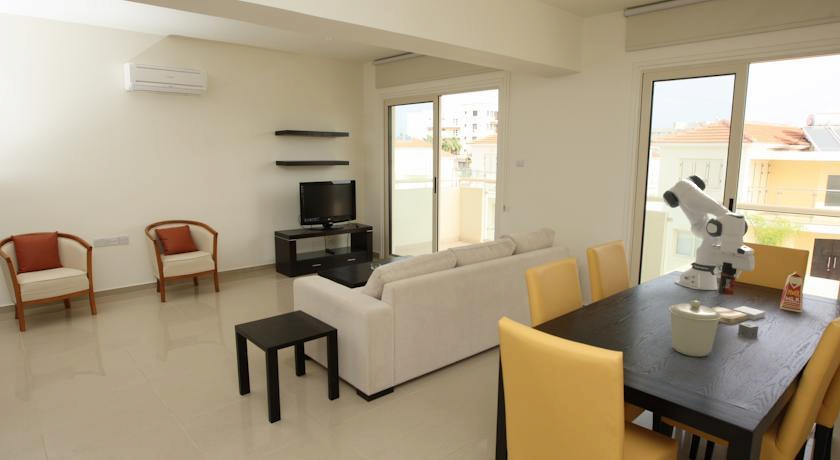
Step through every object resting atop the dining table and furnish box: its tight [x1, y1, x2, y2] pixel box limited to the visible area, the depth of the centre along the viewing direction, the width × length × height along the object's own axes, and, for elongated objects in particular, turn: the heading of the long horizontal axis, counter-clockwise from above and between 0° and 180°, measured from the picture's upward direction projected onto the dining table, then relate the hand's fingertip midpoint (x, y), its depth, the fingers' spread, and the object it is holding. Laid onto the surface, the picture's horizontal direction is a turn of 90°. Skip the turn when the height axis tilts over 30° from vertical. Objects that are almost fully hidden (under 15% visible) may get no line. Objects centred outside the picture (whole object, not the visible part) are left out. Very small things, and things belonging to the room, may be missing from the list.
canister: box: [668, 299, 721, 358], centre depth 196 cm, size 18×18×21 cm
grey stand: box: [732, 305, 766, 321], centre depth 243 cm, size 10×10×2 cm
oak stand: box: [710, 305, 748, 325], centre depth 239 cm, size 14×14×3 cm
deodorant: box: [718, 262, 738, 296], centre depth 236 cm, size 6×6×15 cm
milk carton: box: [779, 270, 804, 313], centre depth 253 cm, size 9×9×20 cm
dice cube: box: [737, 322, 759, 339], centre depth 215 cm, size 5×5×5 cm
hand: (728, 276), depth 236 cm, fingers closed on deodorant, 6 cm apart
